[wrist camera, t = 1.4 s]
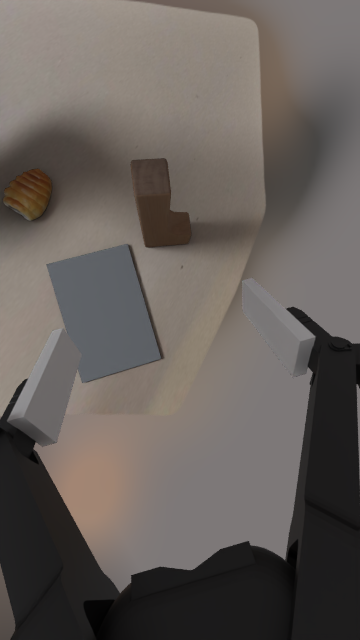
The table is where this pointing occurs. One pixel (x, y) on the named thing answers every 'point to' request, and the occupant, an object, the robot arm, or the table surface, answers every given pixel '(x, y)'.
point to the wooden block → (157, 205)
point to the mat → (104, 311)
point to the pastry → (29, 194)
